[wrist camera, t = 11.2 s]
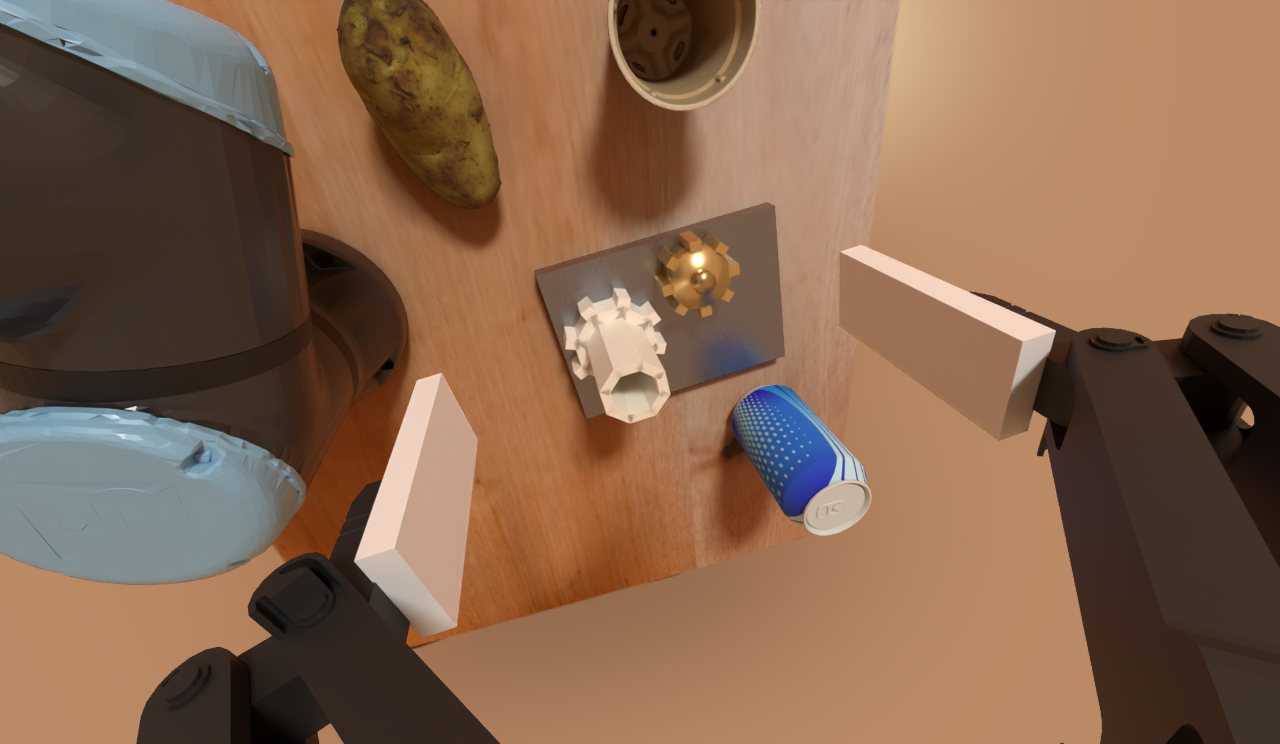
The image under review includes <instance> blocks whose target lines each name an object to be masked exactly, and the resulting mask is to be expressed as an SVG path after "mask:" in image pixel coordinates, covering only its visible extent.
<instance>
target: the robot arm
mask: <svg viewBox="0 0 1280 744" xmlns="http://www.w3.org/2000/svg"><path fill="white" fill-rule="evenodd" d="M290 157H294V149H293V147H292V145H291V144H290V143H289V142H288V141H287V139H286V134H285V129H284V123H283V118H282V113H281V107H280V102H279V97H278V91H277V86H276V82H275V78H274V75H273V72H272V70H271V68H270V66H269V64H268V62H267V61H266V59H265V58H264V56H263V55H262V54H261V53H260V51H259V50H258V49H257V48H256V47H255V46H254V45H253V44H252V43H251V42H250V41H248V40H247V39H246V38H245V37H243V36H242V35H241V34H239V33H238V32H236V31H234V30H233V29H231V28H230V27H228V26H226V25H224V24H222V23H220V22H218V21H216V20H214V19H211V18H209V17H207V16H204V15H202V14H200V13H197V12H195V11H192V10H190V9H188V8H185V7H182V6H180V5H177V4H174V3H172V2H169V1H167V0H0V553H1V554H3V555H5V556H8V557H10V558H12V559H15V560H17V561H20V562H22V563H25V564H28V565H30V566H33V567H36V568H40V569H43V570H49V571H53V572H58V573H61V574H64V575H67V576H70V577H75V578H80V579H85V580H91V581H97V582H106V583H116V584H131V585H132V584H133V585H135V584H136V585H154V584H171V583H181V582H189V581H195V580H200V579H205V578H209V577H213V576H216V575H219V574H223V573H226V572H228V571H231V570H233V569H236V568H238V567H240V566H242V565H244V564H246V563H247V562H249V561H250V560H251V559H252V558H254V557H256V556H257V555H260V554H261V553H263V552H265V551H266V550H267V549H268V548H269V547H270V546H271V545H272V544H273V543H274V542H275V541H276V539H277V538H278V537H279V535H280V534H281V532H282V531H283V530H284V528H285V527H286V525H287V524H288V523H289V521H290V520H291V519H292V517H293V516H294V514H295V513H297V512H298V510H299V509H300V508H301V506H302V505H303V503H304V500H305V499H306V492H307V490H308V488H309V486H310V484H311V482H312V480H313V478H314V476H315V474H316V472H317V470H318V468H319V466H320V464H321V462H322V461H323V459H324V457H325V455H326V453H327V451H328V449H329V447H330V445H331V443H332V441H333V439H334V437H335V435H336V433H337V431H338V429H339V427H340V425H341V424H342V422H343V420H344V418H345V416H346V414H347V412H348V410H349V408H350V407H351V406H353V405H355V404H356V403H358V402H359V401H361V400H363V399H364V398H366V397H367V396H369V395H370V394H372V393H373V392H375V391H376V390H378V389H379V388H380V387H381V386H382V385H383V384H384V383H385V382H386V381H387V380H388V379H389V378H390V376H391V375H392V374H393V372H394V371H395V369H396V367H397V366H398V363H399V361H400V359H401V357H402V354H403V352H404V349H405V346H406V342H407V336H408V323H407V316H406V312H405V308H404V305H403V303H402V300H401V298H400V296H399V294H398V292H397V290H396V289H395V287H394V286H393V284H392V283H391V281H390V280H389V279H388V277H387V276H386V275H385V274H384V273H383V272H382V271H381V269H380V268H378V267H377V266H376V265H375V264H374V263H373V262H372V261H371V260H370V259H368V258H367V257H366V256H364V255H363V254H362V253H360V252H359V251H357V250H356V249H354V248H352V247H351V246H349V245H347V244H345V243H343V242H341V241H339V240H337V239H334V238H332V237H329V236H327V235H324V234H320V233H317V232H313V231H309V230H304V229H300V226H299V218H298V211H297V204H296V197H295V190H294V182H293V175H292V168H291V161H290ZM840 326H841V327H842V328H843V329H845V330H846V331H848V332H849V333H850V334H852V335H853V336H854V337H856V338H857V339H859V340H860V341H861V342H863V343H864V344H866V345H867V346H868V347H870V348H871V349H873V350H874V351H875V352H877V353H878V354H879V355H881V356H882V357H884V358H885V359H886V360H888V361H889V362H890V363H892V364H893V365H895V366H896V367H897V368H899V369H900V370H902V371H903V372H904V373H906V374H907V375H909V376H910V377H911V378H913V379H914V380H915V381H917V382H918V383H920V384H921V385H922V386H924V387H925V388H927V389H928V390H929V391H931V392H932V393H933V394H935V395H936V396H938V397H939V398H940V399H942V400H944V402H946V403H947V404H949V405H950V406H951V407H953V408H954V409H956V410H957V411H958V412H960V413H961V414H962V415H964V416H965V417H967V418H968V419H969V420H971V421H972V422H974V423H975V424H976V425H978V426H979V427H981V428H982V429H983V430H985V431H986V432H987V433H989V434H991V436H993V437H994V438H996V439H997V440H1002V439H1005V438H1008V437H1011V436H1014V435H1016V434H1019V433H1022V432H1025V431H1027V430H1028V427H1029V424H1030V420H1031V417H1032V413H1033V410H1035V411H1036V412H1038V413H1040V414H1041V415H1043V416H1044V417H1046V418H1048V419H1047V423H1046V425H1045V429H1044V432H1043V435H1042V438H1041V442H1040V445H1039V448H1038V453H1037V456H1043V454H1044V451H1045V450H1046V449H1048V453H1049V458H1050V463H1051V468H1052V473H1053V477H1054V482H1055V487H1056V492H1057V497H1058V502H1059V507H1060V512H1061V517H1062V522H1063V527H1064V532H1065V537H1066V542H1067V547H1068V552H1069V557H1070V562H1071V567H1072V572H1073V577H1074V582H1075V587H1076V591H1077V596H1078V601H1079V606H1080V611H1081V616H1082V621H1083V626H1084V631H1085V636H1086V641H1087V646H1088V651H1089V656H1090V661H1091V666H1092V671H1093V676H1094V681H1095V685H1096V691H1097V696H1098V700H1099V705H1100V710H1101V718H1102V734H1101V742H1100V744H1280V327H1278V326H1276V325H1274V324H1272V323H1269V322H1267V321H1264V320H1260V319H1256V318H1253V317H1251V316H1246V315H1240V316H1239V315H1238V314H1211V315H1204V316H1199V317H1196V318H1194V319H1192V320H1190V322H1189V324H1188V327H1187V328H1186V331H1185V333H1184V335H1183V337H1182V338H1180V339H1171V340H1160V341H1151V340H1150V339H1148V338H1146V337H1144V336H1142V335H1140V334H1138V333H1134V332H1130V331H1126V330H1122V329H1113V328H1091V329H1087V330H1083V331H1080V332H1076V331H1074V330H1072V329H1069V328H1067V327H1065V326H1062V325H1060V324H1057V323H1055V322H1053V321H1051V320H1048V319H1046V318H1044V317H1041V316H1039V315H1036V314H1034V313H1032V312H1026V310H1025V309H1022V308H1020V307H1018V306H1015V305H1014V306H1012V305H1011V303H1008V302H1006V301H1004V300H1001V299H999V298H997V297H994V296H991V295H986V294H981V293H976V292H967V291H965V290H963V289H960V288H958V287H955V286H954V285H951V284H949V283H947V282H944V281H942V280H940V279H938V278H935V277H933V276H931V275H929V274H926V273H924V272H922V271H919V270H917V269H915V268H913V267H911V266H908V265H906V264H904V263H901V262H899V261H897V260H895V259H892V258H890V257H888V256H885V255H883V254H881V253H879V252H876V251H874V250H872V249H870V248H867V247H865V246H863V245H860V246H857V247H853V248H850V249H847V250H844V251H840ZM1247 406H1249V407H1250V408H1251V410H1252V412H1253V415H1254V425H1253V426H1250V425H1248V424H1247V423H1246V422H1245V421H1244V420H1242V419H1241V416H1242V414H1243V412H1244V411H1245V409H1246V407H1247ZM477 444H478V439H477V437H476V436H475V434H474V432H473V430H472V428H471V426H470V424H469V423H468V421H467V419H466V417H465V415H464V413H463V411H462V410H461V408H460V406H459V404H458V402H457V400H456V398H455V396H454V395H453V393H452V391H451V389H450V387H449V385H448V383H447V382H446V380H445V378H444V376H443V374H442V373H440V374H436V375H433V376H430V377H427V378H423V379H420V380H417V382H416V385H415V388H414V391H413V393H412V396H411V399H410V402H409V405H408V408H407V411H406V413H405V416H404V419H403V422H402V425H401V428H400V431H399V434H398V436H397V439H396V442H395V445H394V448H393V451H392V454H391V457H390V459H389V462H388V465H387V468H386V471H385V474H384V477H383V479H382V480H380V481H377V482H374V483H370V484H367V485H366V486H365V487H364V489H363V490H362V491H361V492H360V494H359V495H358V496H357V497H356V498H355V500H354V501H353V502H352V505H351V507H350V510H349V512H348V515H347V517H346V522H345V523H344V525H343V527H342V530H341V532H340V534H341V536H340V537H338V539H337V542H336V544H335V547H334V549H333V552H332V554H331V557H330V559H329V560H328V559H327V558H326V557H325V556H324V555H322V554H319V553H317V552H316V553H306V554H303V555H301V556H298V557H296V558H293V559H291V560H289V561H288V562H286V563H285V564H283V565H281V566H280V567H278V568H277V569H276V570H274V571H273V572H272V573H271V574H270V575H269V576H268V577H267V578H266V579H264V581H262V583H261V584H260V586H259V587H258V588H257V589H256V591H255V592H254V593H253V595H252V597H251V600H250V602H249V605H248V613H249V616H250V617H251V618H252V619H253V620H254V621H256V622H257V623H258V624H259V625H260V626H262V627H263V628H264V629H265V630H267V631H268V632H269V633H270V634H271V635H272V636H271V637H270V638H268V639H266V640H264V641H263V642H261V643H259V644H258V645H256V646H254V647H253V648H251V649H249V650H247V651H246V652H244V653H242V654H241V655H239V656H235V655H234V654H233V653H231V652H230V651H229V650H227V649H224V648H221V647H216V648H211V649H206V650H204V651H202V652H200V653H198V654H196V655H194V656H192V657H190V658H189V659H188V660H186V661H185V662H184V663H182V664H181V665H180V666H178V667H177V668H176V669H175V670H173V671H172V672H171V673H170V674H169V675H168V676H167V677H166V678H165V679H164V680H163V681H162V682H161V683H160V684H159V685H158V687H157V688H156V689H155V691H154V692H153V694H152V695H151V697H150V698H149V699H148V701H147V702H146V705H145V707H144V710H143V713H142V715H141V719H140V725H139V731H138V737H137V744H319V739H318V733H317V732H318V731H319V730H321V729H322V728H324V727H325V726H327V725H328V724H330V723H331V724H332V725H333V727H334V729H335V730H336V732H337V733H338V735H339V737H340V738H341V740H342V741H343V743H344V744H500V743H499V742H498V741H497V740H496V739H495V738H494V737H493V736H492V734H491V733H490V732H489V731H488V730H487V729H486V728H485V727H484V726H483V725H482V724H481V723H480V722H479V721H478V719H477V718H476V717H475V716H474V715H473V714H472V713H471V712H470V711H469V710H468V709H467V708H466V707H465V706H464V704H463V703H462V702H461V701H460V700H459V699H458V698H457V697H456V696H455V695H454V694H453V693H452V692H451V691H450V690H449V689H448V687H447V686H446V685H445V684H444V683H443V682H442V681H441V680H440V679H439V678H438V677H437V676H436V675H435V674H434V673H433V672H432V670H431V669H430V668H429V667H428V666H427V665H426V664H425V663H424V662H423V661H422V660H421V659H420V657H419V656H418V655H417V654H416V653H415V652H414V651H413V650H412V649H411V648H410V647H409V646H408V645H407V644H406V640H407V635H408V630H409V625H411V626H412V627H413V629H414V630H415V631H416V632H417V633H418V634H419V635H420V637H421V638H425V637H428V636H431V635H434V634H437V633H440V632H443V631H445V630H448V629H451V628H454V627H457V620H458V611H459V603H460V594H461V585H462V576H463V567H464V558H465V550H466V541H467V532H468V523H469V514H470V505H471V497H472V488H473V479H474V470H475V461H476V452H477ZM1061 744H1064V743H1061Z"/></svg>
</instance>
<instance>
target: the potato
mask: <svg viewBox="0 0 1280 744" xmlns="http://www.w3.org/2000/svg"><path fill="white" fill-rule="evenodd" d="M337 31H338V42H339V48H340V54H341V60H342V63H343V66H344V68H345V71H346V73H347V75H348V77H349V79H350V81H351V83H352V84H353V86H354V87H355V89H356V91H357V92H358V94H359V95H360V97H361V99H362V101H363V102H364V104H365V107H366V109H367V111H368V112H369V114H370V115H371V116H372V118H373V119H374V121H375V122H376V124H377V125H378V126H379V128H380V129H381V130H382V132H383V133H384V135H385V136H386V138H387V139H388V140H389V142H390V143H391V145H392V146H393V147H394V149H395V150H396V151H397V153H398V155H399V156H400V157H401V158H402V159H403V160H404V162H405V163H406V164H407V165H408V167H409V168H410V169H411V170H412V171H413V172H414V173H415V175H416V176H417V177H418V178H419V179H420V180H421V181H422V182H423V183H425V184H426V185H427V186H428V187H429V188H430V189H432V190H433V191H434V192H436V193H437V194H439V195H440V196H442V197H443V198H445V199H446V200H448V201H449V202H451V203H453V204H454V205H456V206H459V207H461V208H464V209H471V210H472V209H477V208H480V207H482V206H484V205H486V204H488V203H490V202H491V201H492V200H493V198H494V197H495V196H496V194H497V192H498V191H499V188H500V185H501V180H500V177H499V169H498V158H497V155H496V152H495V151H494V146H493V141H492V136H491V131H490V124H489V123H488V120H487V116H486V113H485V110H484V107H483V104H482V100H481V97H480V93H479V91H478V88H477V85H476V83H475V80H474V78H473V76H472V73H471V71H470V69H469V67H468V65H467V63H466V62H465V60H464V59H463V57H462V56H461V55H460V53H459V52H458V50H457V48H456V47H455V45H454V44H453V42H452V40H451V39H450V37H449V35H448V33H447V32H446V30H445V28H444V26H443V25H442V23H441V21H440V20H439V19H438V17H437V16H436V14H435V13H434V12H433V10H432V9H431V8H430V7H429V6H428V5H427V4H426V3H425V2H424V1H423V0H344V2H343V5H342V8H341V12H340V17H339V23H338V28H337Z"/></svg>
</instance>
